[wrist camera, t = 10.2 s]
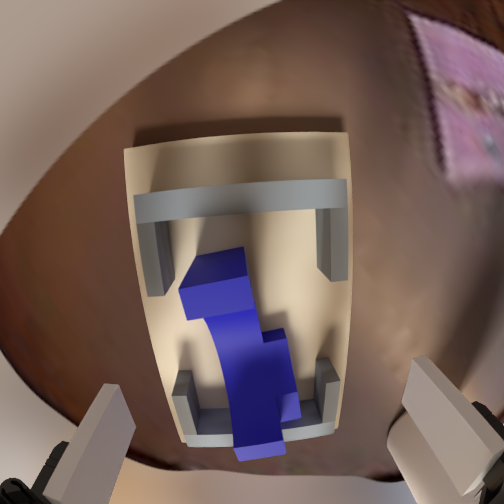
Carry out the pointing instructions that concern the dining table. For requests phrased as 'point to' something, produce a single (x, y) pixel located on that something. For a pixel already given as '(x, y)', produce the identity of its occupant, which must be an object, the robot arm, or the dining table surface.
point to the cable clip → (243, 352)
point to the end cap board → (258, 260)
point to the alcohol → (423, 466)
